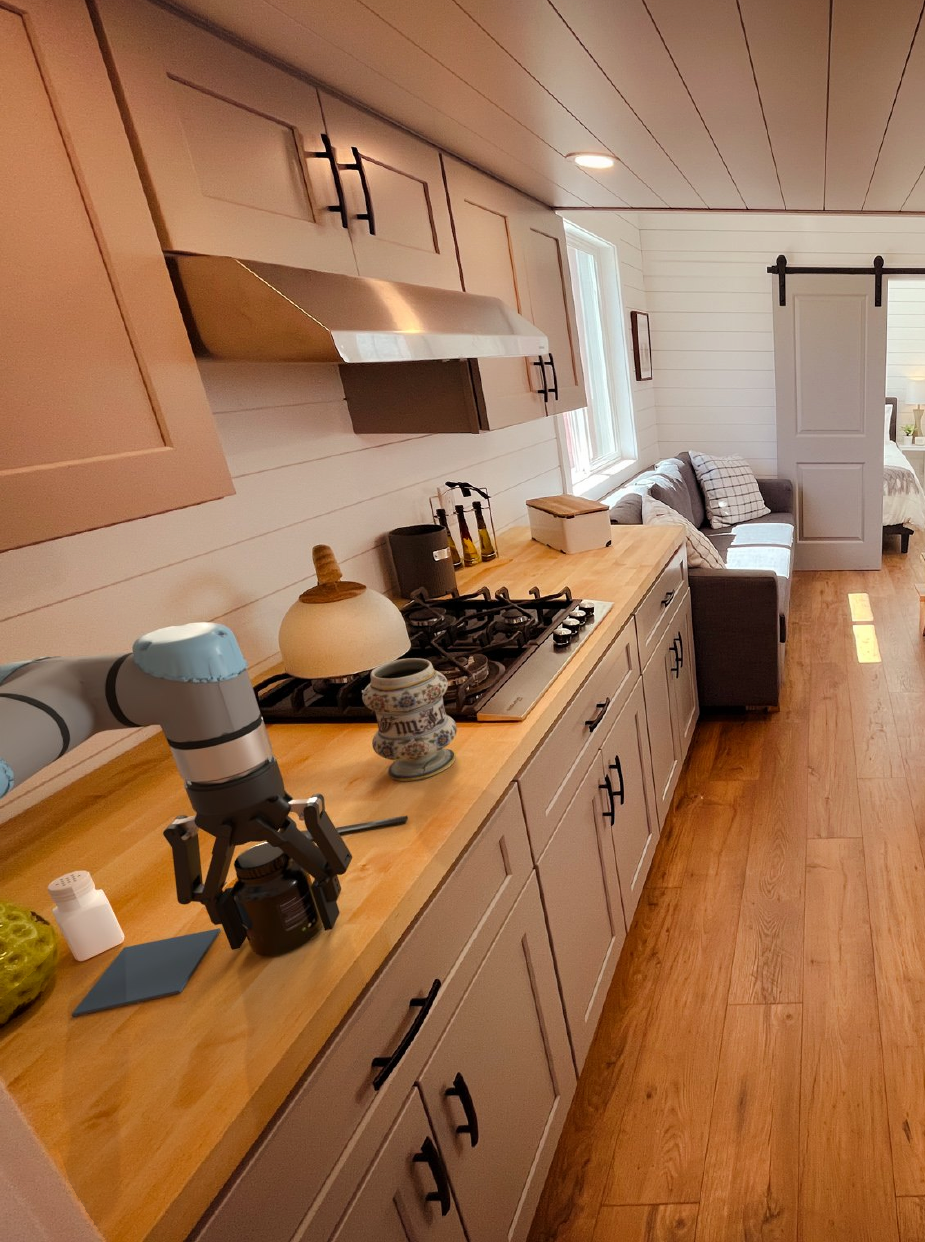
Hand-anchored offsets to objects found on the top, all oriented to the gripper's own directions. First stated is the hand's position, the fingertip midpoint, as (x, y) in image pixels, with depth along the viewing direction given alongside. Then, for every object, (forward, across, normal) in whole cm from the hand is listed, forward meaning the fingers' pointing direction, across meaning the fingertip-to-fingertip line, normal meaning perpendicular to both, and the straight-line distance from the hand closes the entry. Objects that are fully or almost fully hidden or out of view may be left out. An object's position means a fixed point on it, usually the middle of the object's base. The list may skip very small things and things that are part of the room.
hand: (287, 930), depth 80 cm
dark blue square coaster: (+1, +12, +1) cm, 13 cm away
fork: (+1, 0, -20) cm, 20 cm away
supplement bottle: (+1, 0, 0) cm, 1 cm away
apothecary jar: (+1, -7, -36) cm, 37 cm away
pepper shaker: (+1, +20, -5) cm, 21 cm away
